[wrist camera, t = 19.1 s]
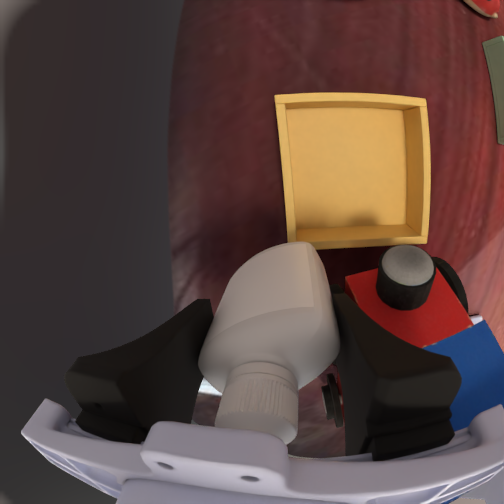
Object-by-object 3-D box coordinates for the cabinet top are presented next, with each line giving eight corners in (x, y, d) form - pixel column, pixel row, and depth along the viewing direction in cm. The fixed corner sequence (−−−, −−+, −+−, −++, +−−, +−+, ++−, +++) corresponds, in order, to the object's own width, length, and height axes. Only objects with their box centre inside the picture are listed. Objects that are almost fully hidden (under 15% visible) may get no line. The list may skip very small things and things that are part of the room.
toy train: (446, 210, 14) (581, 425, 2) (395, 366, 26) (431, 483, 14) (308, 240, 14) (398, 564, 2) (318, 388, 27) (343, 515, 15)
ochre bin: (409, 229, 20) (427, 243, 17) (288, 234, 22) (288, 251, 19) (406, 104, 17) (426, 98, 13) (276, 103, 18) (274, 94, 15)
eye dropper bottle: (226, 238, 16) (123, 411, 5) (325, 239, 15) (379, 432, 4) (231, 303, 18) (170, 479, 7) (320, 305, 17) (338, 493, 6)
